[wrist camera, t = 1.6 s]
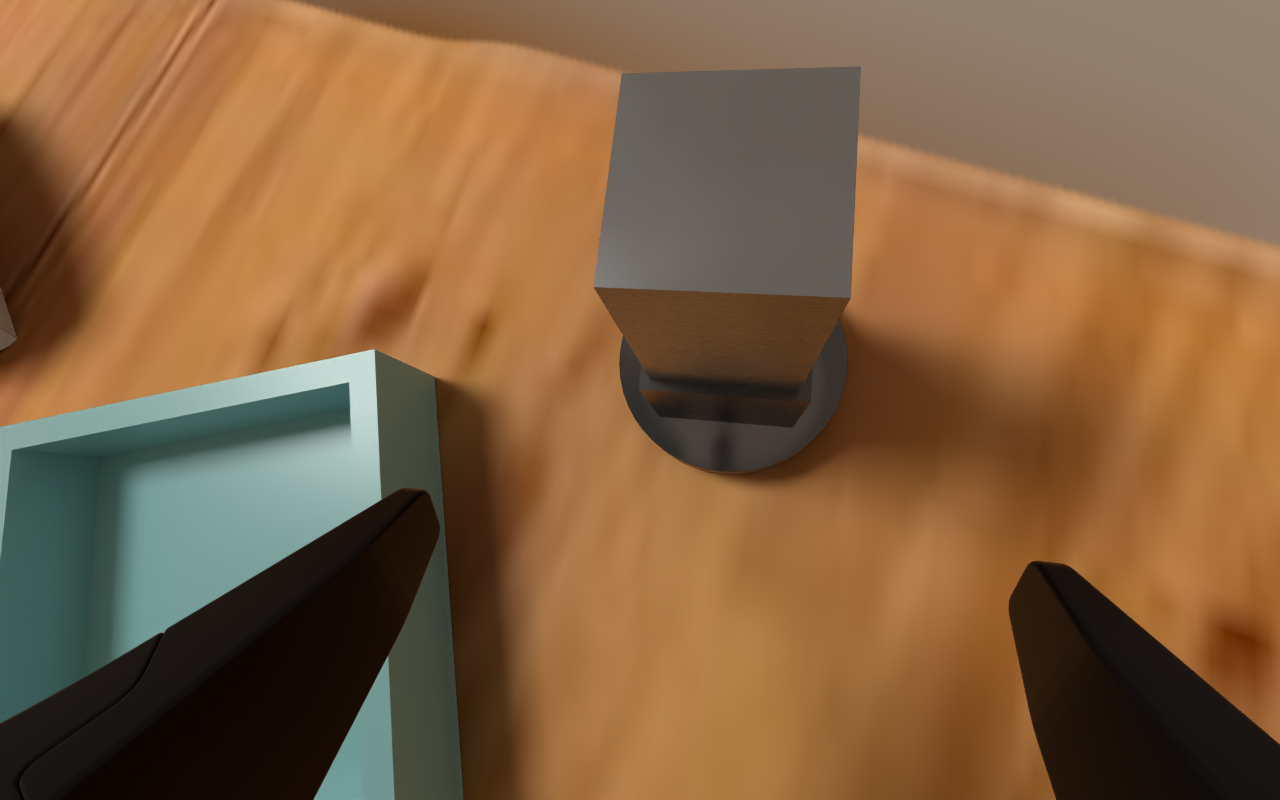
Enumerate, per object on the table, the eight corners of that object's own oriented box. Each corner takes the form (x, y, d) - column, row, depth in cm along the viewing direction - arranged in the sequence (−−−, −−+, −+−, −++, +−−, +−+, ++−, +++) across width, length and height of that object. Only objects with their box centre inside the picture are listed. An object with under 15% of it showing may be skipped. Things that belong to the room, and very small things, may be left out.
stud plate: (862, 454, 20) (902, 437, 15) (643, 490, 21) (617, 483, 16) (813, 251, 22) (836, 180, 17) (613, 293, 23) (583, 236, 18)
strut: (792, 427, 19) (871, 317, 8) (659, 416, 20) (573, 303, 9) (800, 300, 20) (880, 49, 9) (672, 294, 20) (607, 59, 10)
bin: (464, 809, 20) (398, 882, 16) (80, 844, 22) (-63, 916, 18) (434, 376, 23) (374, 349, 19) (106, 441, 25) (-8, 428, 21)
